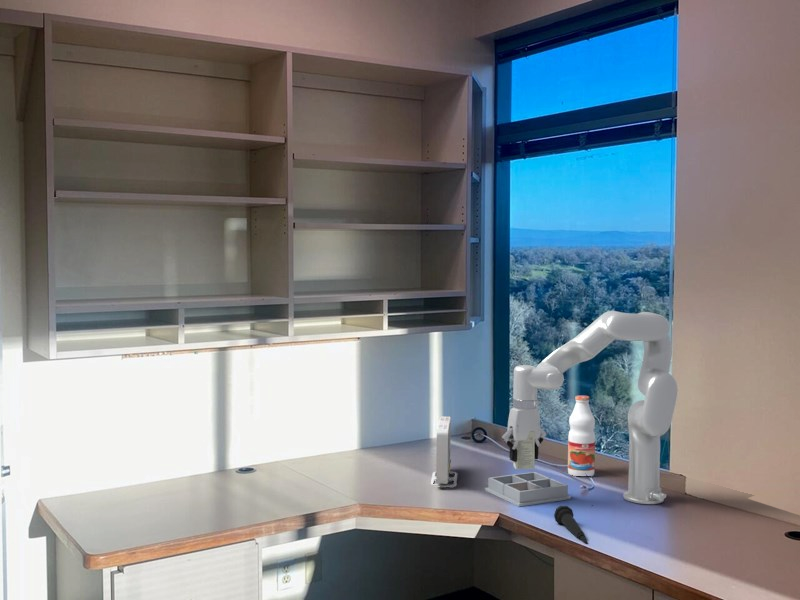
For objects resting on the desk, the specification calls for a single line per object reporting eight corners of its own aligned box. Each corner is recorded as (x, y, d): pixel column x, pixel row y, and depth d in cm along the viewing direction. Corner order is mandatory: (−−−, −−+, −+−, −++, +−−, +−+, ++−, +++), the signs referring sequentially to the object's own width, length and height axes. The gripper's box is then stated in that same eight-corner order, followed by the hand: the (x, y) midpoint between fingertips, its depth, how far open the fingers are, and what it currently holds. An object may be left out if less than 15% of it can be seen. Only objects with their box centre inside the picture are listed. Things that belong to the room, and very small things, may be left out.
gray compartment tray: (571, 498, 267) (571, 485, 267) (518, 506, 259) (519, 493, 259) (534, 483, 285) (535, 470, 285) (484, 490, 277) (485, 477, 277)
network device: (433, 470, 303) (434, 415, 301) (457, 470, 302) (458, 416, 301) (429, 489, 277) (429, 430, 276) (455, 490, 276) (456, 430, 275)
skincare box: (532, 466, 268) (533, 428, 267) (534, 469, 264) (535, 431, 263) (512, 466, 268) (513, 428, 267) (514, 469, 263) (515, 431, 263)
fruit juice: (591, 471, 302) (593, 394, 301) (596, 478, 293) (598, 398, 291) (565, 470, 303) (567, 394, 301) (569, 477, 293) (571, 398, 292)
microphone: (591, 554, 227) (565, 522, 246) (598, 535, 226) (572, 504, 245) (573, 549, 226) (548, 517, 245) (581, 530, 225) (555, 500, 244)
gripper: (540, 400, 272) (539, 454, 273) (495, 404, 264) (494, 459, 265) (554, 404, 265) (553, 459, 266) (508, 408, 257) (507, 465, 258)
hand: (523, 459), depth 266 cm, fingers closed on skincare box, 7 cm apart
